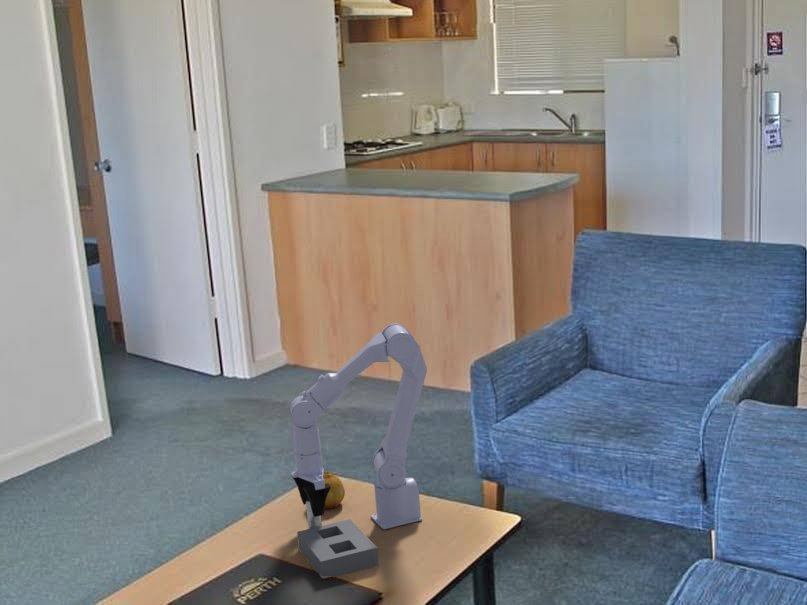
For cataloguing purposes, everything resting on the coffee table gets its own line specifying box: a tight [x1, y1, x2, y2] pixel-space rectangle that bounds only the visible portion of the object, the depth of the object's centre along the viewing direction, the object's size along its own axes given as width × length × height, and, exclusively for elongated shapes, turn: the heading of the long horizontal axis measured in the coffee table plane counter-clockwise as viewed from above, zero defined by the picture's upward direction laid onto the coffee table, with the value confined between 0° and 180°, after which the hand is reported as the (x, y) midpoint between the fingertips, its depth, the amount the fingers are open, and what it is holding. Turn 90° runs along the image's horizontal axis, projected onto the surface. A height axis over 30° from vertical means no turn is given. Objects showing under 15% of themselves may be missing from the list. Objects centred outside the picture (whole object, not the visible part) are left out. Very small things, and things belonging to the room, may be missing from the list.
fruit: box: [323, 471, 346, 509], centre depth 244 cm, size 8×8×8 cm
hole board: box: [296, 518, 379, 578], centre depth 218 cm, size 12×16×4 cm
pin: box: [305, 500, 323, 529], centre depth 231 cm, size 3×3×7 cm
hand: (313, 509), depth 231 cm, fingers open, 7 cm apart
